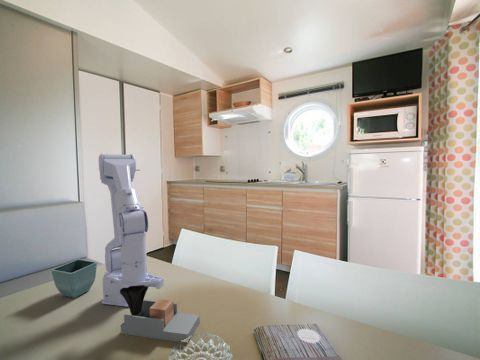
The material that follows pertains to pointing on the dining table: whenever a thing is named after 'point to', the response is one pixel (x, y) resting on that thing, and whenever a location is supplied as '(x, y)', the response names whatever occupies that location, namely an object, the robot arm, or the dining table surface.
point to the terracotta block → (162, 310)
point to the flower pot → (74, 277)
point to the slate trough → (160, 324)
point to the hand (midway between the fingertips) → (136, 313)
